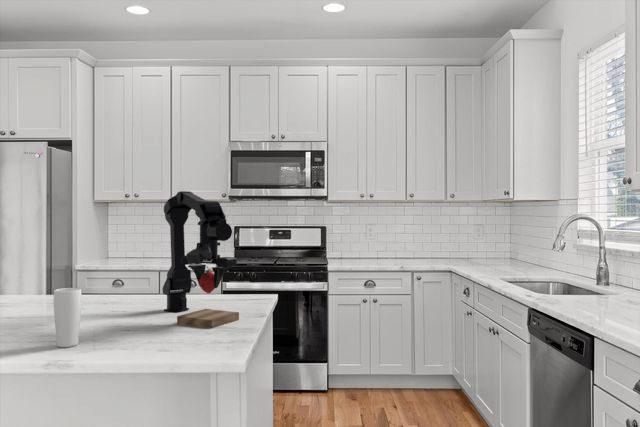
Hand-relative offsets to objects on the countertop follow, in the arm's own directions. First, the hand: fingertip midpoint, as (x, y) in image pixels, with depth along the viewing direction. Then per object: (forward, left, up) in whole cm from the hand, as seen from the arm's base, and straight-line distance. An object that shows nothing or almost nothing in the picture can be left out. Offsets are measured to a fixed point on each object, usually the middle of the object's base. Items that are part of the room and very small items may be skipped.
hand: (208, 287), depth 167 cm
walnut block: (0, 0, -12) cm, 12 cm away
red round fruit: (0, 0, -2) cm, 2 cm away
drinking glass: (-14, -41, -11) cm, 45 cm away
